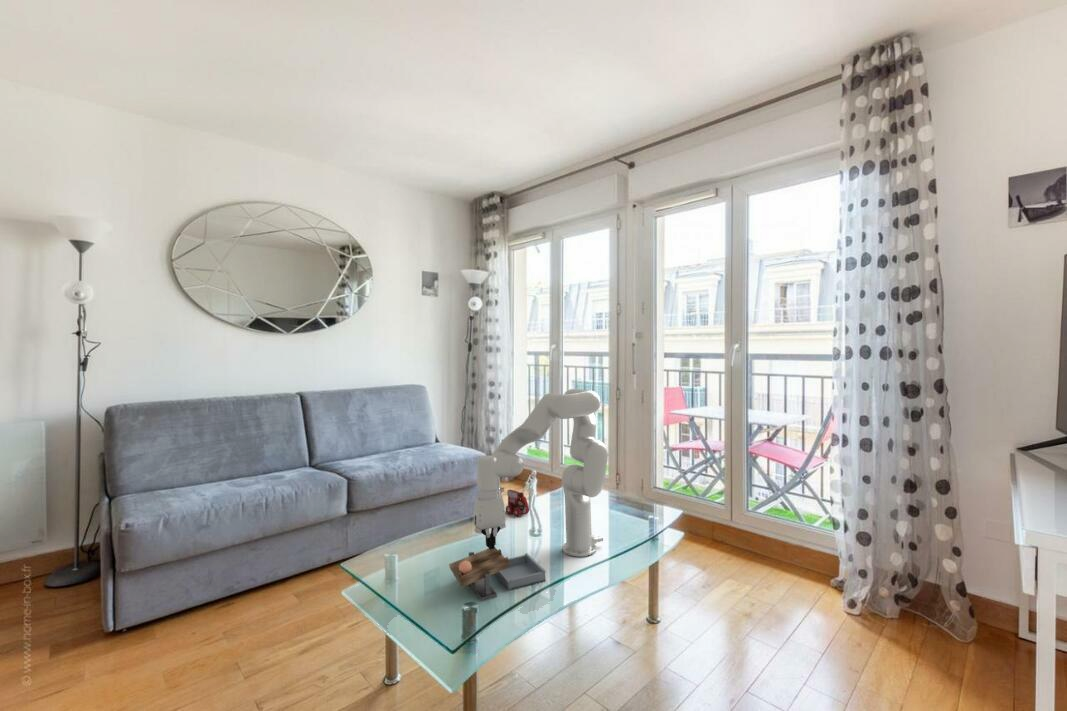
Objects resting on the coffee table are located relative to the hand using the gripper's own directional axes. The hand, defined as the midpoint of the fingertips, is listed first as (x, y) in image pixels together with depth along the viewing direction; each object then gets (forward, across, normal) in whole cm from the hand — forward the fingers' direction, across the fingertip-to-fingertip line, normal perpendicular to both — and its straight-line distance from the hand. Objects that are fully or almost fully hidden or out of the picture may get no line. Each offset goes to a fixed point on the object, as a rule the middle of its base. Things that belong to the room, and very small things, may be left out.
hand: (490, 547), depth 159 cm
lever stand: (+9, +6, +5) cm, 12 cm away
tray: (+9, -8, +5) cm, 13 cm away
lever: (+3, +6, +5) cm, 8 cm away
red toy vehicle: (+10, -31, -51) cm, 60 cm away
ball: (+1, +11, +8) cm, 14 cm away
